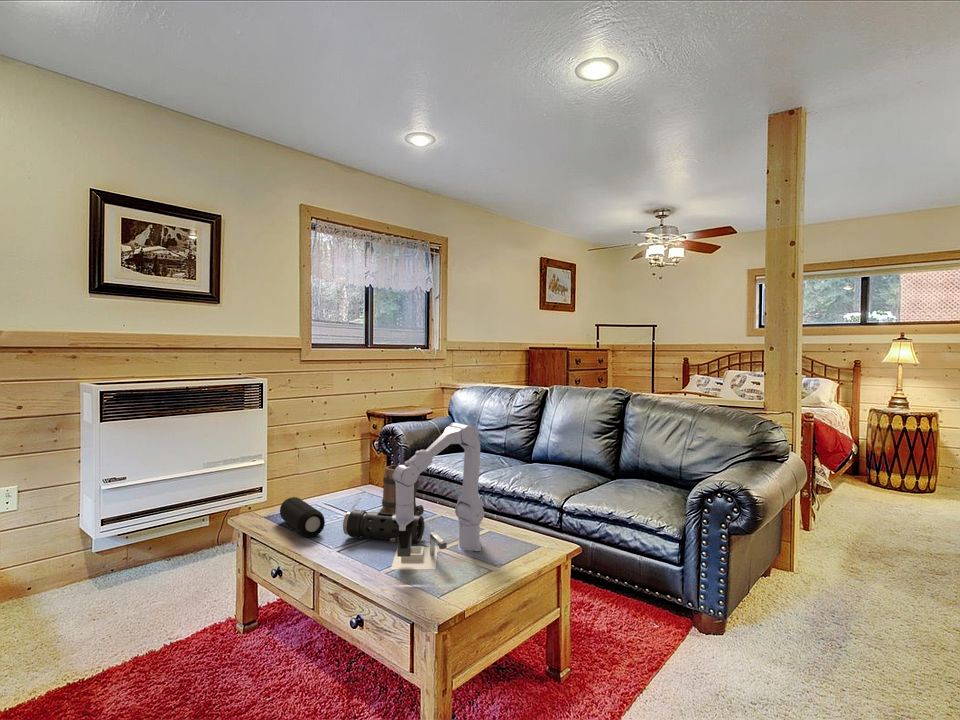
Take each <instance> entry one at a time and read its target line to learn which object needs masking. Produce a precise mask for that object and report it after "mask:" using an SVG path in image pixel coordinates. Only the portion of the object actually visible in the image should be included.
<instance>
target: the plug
mask: <svg viewBox="0 0 960 720" xmlns="http://www.w3.org/2000/svg"><path fill="white" fill-rule="evenodd" d="M389 541H390V543H391V542H392V543H393V542H394V543H397V547H398V555H397V557H408V556H410V555H411V546H412V542H411V533H410V536H409V542H408V547H407V549H401V548H400V544H399V539H398V541H397V538H395V539H390V540H389Z"/></svg>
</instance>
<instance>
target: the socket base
mask: <svg viewBox="0 0 960 720" xmlns="http://www.w3.org/2000/svg"><path fill="white" fill-rule="evenodd" d="M438 549H439V546H435V555H434V556H430V546H424V545H423V546H422V545H421V546H419V545H418V546H415V545H414V546H412V545H411V555H410V556H408V557H397V555H398V546H397V547H396V551H395V554H394V557H393V561H392V564H391V567H390V570H392V571H393V570H394V571H395V570H396V571H397V570H402V571H403V570H405V571H406V570H436V568H437V558H438Z"/></svg>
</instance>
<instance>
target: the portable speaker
mask: <svg viewBox="0 0 960 720" xmlns="http://www.w3.org/2000/svg"><path fill="white" fill-rule="evenodd" d="M279 508H280V509H279V515H280V517H281V519H282V520H283V521H284V522H285V523H287V524H288V525H289V526H290V527H292V528H293V529H295V531H297V532H298V533H299V534H300V535H301V536H303V537H306V538H310V537H315V536H316V537H317V536H318V535H319V534H320V533H322V531H323V530H324V528H325V524H326V523H325V516H324V514H323V513H322V512H321V511H320V510H318V509H317V508H315V507H313V506H312V505H311V504H309V503H307V502H306V501H304V500H303V499H301V498H299V497H296V496H293V497H292V496H291V497H288V498H286V499H285V500H284V501H283V502H282V503H281V505H280V507H279Z"/></svg>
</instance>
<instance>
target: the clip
mask: <svg viewBox="0 0 960 720" xmlns="http://www.w3.org/2000/svg"><path fill="white" fill-rule="evenodd" d="M436 545H437V547H438V549H439V550H445V549H447V545H448V544H447V542H446V540H443V538H441V537H440V536H439V535H438V534H437V533H436V532H435V531H430V532H429V547H430V556H434V555H435V547H436Z"/></svg>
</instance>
